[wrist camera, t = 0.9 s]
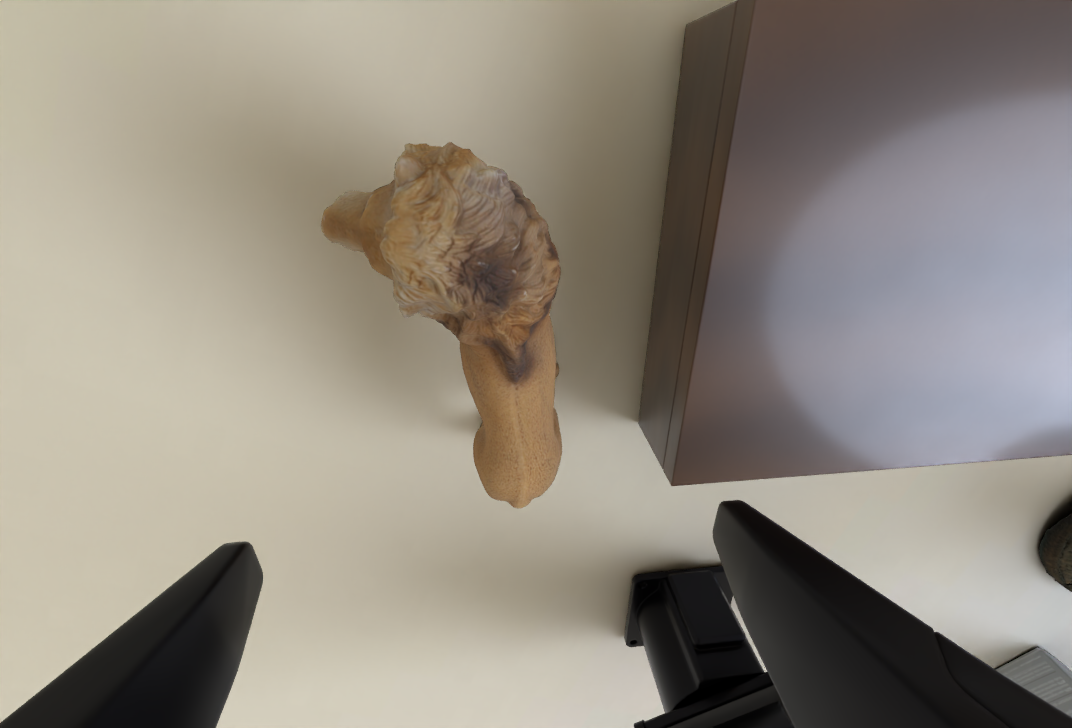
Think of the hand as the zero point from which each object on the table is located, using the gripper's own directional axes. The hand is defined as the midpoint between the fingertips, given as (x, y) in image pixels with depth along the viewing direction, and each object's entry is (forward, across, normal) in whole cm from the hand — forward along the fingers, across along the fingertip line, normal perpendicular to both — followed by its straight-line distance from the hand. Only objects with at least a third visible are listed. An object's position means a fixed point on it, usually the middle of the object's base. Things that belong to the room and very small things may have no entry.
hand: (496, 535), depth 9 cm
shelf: (+12, -19, -2) cm, 22 cm away
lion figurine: (+12, 0, 0) cm, 12 cm away
